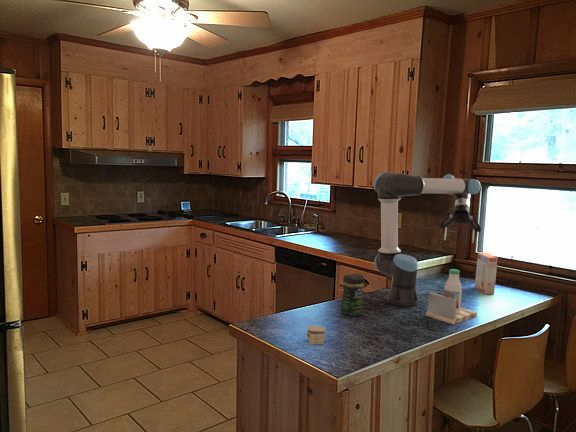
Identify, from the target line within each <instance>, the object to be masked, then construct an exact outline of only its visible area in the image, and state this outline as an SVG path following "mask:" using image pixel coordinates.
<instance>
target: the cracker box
mask: <svg viewBox="0 0 576 432" xmlns="http://www.w3.org/2000/svg"><path fill="white" fill-rule="evenodd" d="M498 259H499V258H498V257H497V256H495V255H493V254H490V253H487V252H477V259H476V260H477V261H476V270H475V271H476V272H475V281H474V282H475V283H474V288H475V289H476V290H478V291H479V292H481V293H482V294H484V295H495V288H496V277H497V268H498Z"/></svg>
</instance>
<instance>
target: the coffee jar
mask: <svg viewBox="0 0 576 432" xmlns="http://www.w3.org/2000/svg"><path fill="white" fill-rule="evenodd" d="M342 286H343V292H342V293H343V294H342V300H341V306H340V313H341V314H342V315H343V316H345V317H356V316H357V317H358V316H360V315H362V314H363V291H364V289H363V288H364V286H365V276H364V275H362V274H360V273H352V274H346V275H345V274H344V276H343V279H342Z"/></svg>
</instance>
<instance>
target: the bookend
mask: <svg viewBox="0 0 576 432" xmlns="http://www.w3.org/2000/svg"><path fill="white" fill-rule="evenodd" d="M443 295H444V294H443ZM443 295H441V294H438V293H435V292H431V291H430V292H428V298H427V312H430V313H433V314H436V315H439V316H442V317H446V318H449V319H452V320H454V319H455V312H456V301H457V299H453V298H450V297H446V296H443Z"/></svg>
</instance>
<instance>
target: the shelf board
mask: <svg viewBox="0 0 576 432" xmlns="http://www.w3.org/2000/svg"><path fill="white" fill-rule="evenodd" d="M425 316H426V317H429V318H431V319H435V320H437V321H441V322H445V323H447V324H450V323H451V325H456V324H460V323H462V322H464V321H468V320H470V319H474V318H476V317H478V312H477V311H474V310H471V309H467V308H463V307H461V306H460V313H459V314H455V319H454V320H452V319H449V318H446V317H442V316H439V315H436V314H433V313H430V312H427V311H426V313H425ZM459 322H460V323H459Z"/></svg>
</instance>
